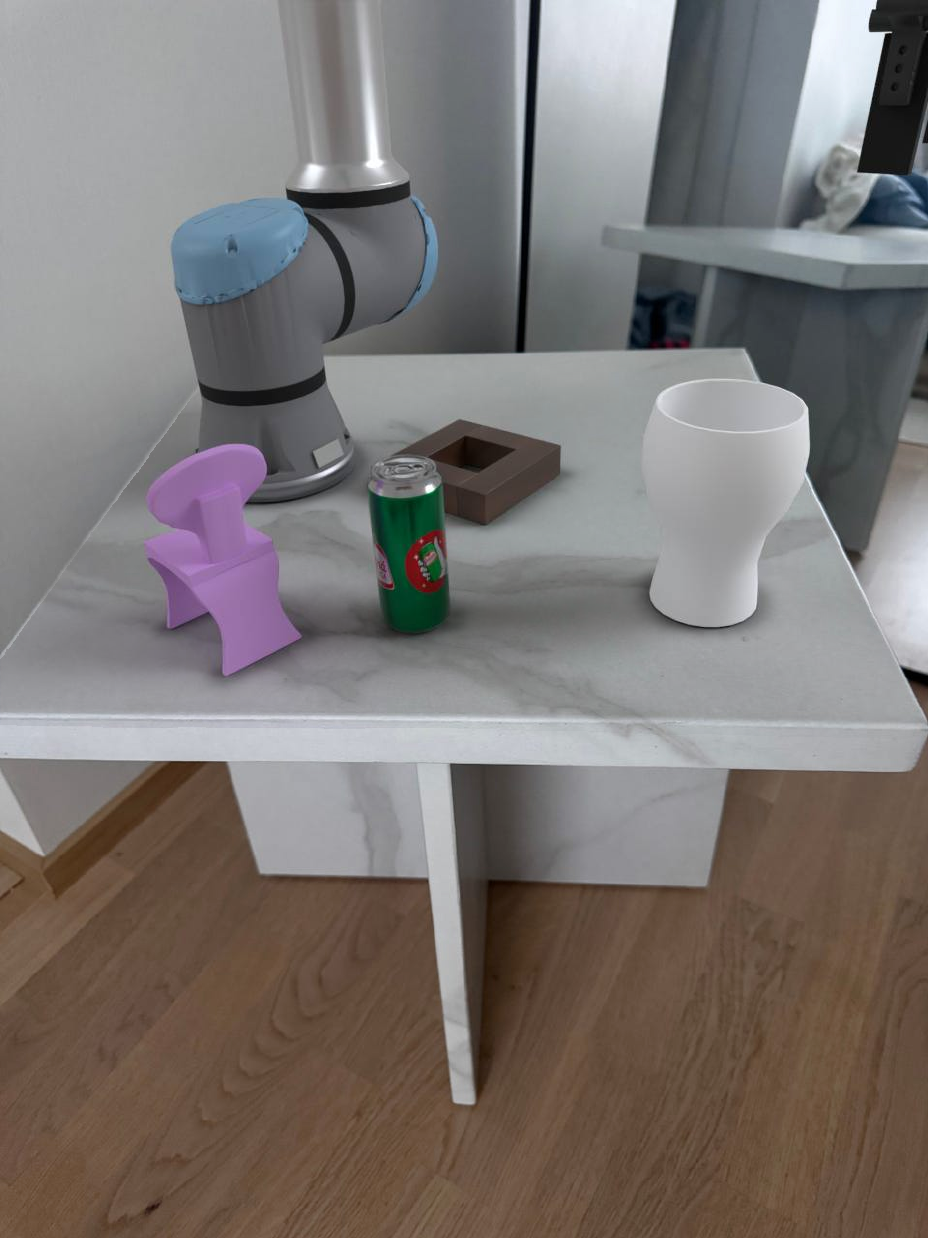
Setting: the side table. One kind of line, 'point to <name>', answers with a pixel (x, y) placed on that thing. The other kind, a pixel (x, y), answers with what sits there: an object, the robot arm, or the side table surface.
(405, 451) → the square frame
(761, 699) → the side table surface
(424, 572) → the soda can
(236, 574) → the toy chair
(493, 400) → the side table surface
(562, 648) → the side table surface
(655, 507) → the cup
